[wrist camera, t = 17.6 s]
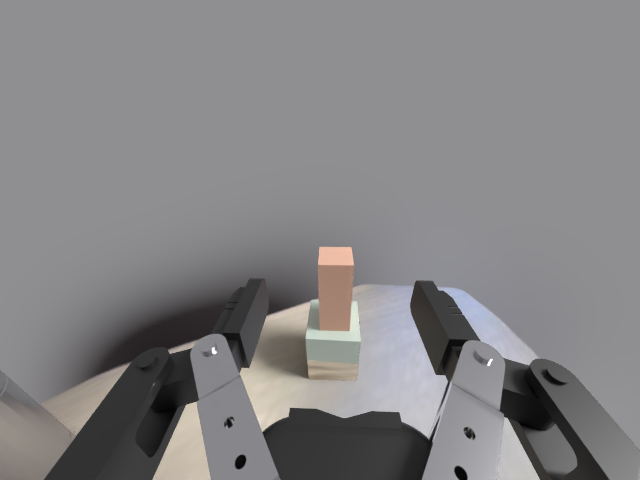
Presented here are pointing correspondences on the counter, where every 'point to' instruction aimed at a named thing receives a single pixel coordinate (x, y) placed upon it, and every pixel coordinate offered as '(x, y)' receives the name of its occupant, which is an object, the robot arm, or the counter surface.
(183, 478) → the counter surface
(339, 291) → the peach block
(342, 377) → the tower base block
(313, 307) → the tower top block
